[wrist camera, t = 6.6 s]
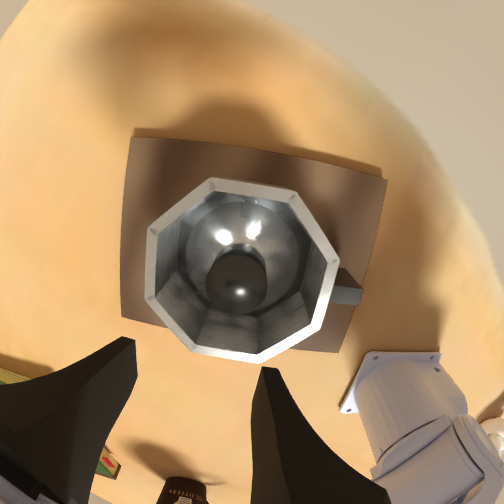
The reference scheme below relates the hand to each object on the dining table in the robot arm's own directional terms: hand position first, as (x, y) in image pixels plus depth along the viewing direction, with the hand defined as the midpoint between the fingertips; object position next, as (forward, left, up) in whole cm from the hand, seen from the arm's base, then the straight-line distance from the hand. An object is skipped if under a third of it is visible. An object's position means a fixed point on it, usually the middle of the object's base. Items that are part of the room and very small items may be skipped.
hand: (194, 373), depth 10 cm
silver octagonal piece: (-2, -2, -10) cm, 10 cm away
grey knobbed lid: (-1, -2, -9) cm, 9 cm away
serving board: (-1, -2, -10) cm, 11 cm away
